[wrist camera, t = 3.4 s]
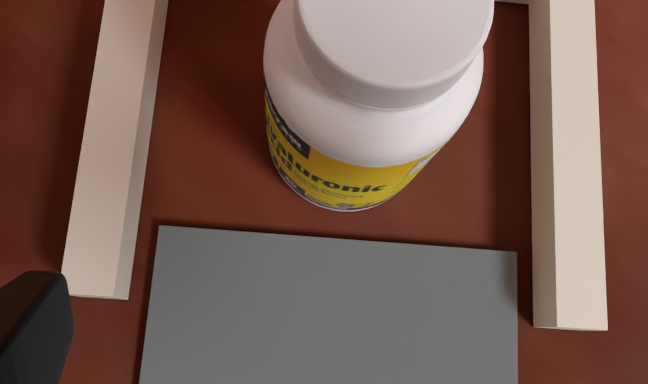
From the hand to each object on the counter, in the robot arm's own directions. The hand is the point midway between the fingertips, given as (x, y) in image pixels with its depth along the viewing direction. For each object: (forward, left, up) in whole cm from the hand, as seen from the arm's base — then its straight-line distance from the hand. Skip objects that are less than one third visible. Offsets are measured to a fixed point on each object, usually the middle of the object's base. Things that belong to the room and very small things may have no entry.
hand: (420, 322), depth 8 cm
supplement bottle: (+4, +5, -13) cm, 14 cm away
